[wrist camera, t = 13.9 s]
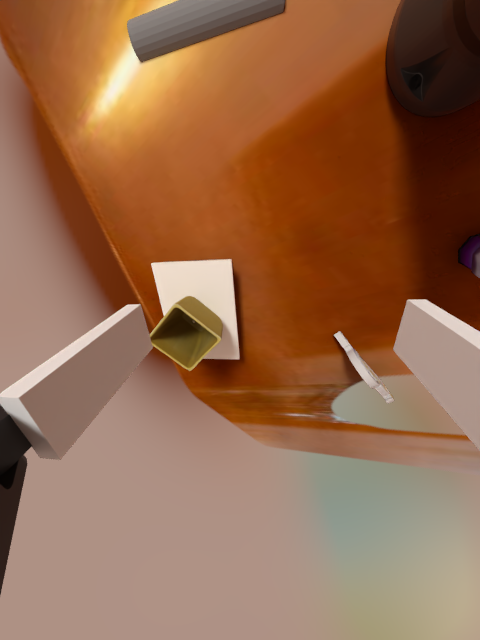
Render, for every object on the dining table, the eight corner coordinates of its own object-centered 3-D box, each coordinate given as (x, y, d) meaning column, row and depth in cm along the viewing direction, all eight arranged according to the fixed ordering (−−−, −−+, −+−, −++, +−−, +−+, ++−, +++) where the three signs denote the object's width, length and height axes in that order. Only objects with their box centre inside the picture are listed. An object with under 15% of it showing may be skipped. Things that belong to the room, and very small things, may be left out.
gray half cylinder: (285, 16, 27) (286, 5, 26) (141, 66, 31) (135, 59, 29) (282, -39, 26) (283, -54, 24) (130, 21, 29) (122, 11, 28)
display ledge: (234, 255, 40) (231, 260, 37) (241, 348, 49) (239, 359, 46) (161, 258, 42) (151, 263, 39) (180, 347, 51) (174, 358, 48)
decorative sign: (376, 372, 52) (402, 411, 44) (371, 375, 53) (396, 414, 44) (338, 328, 45) (361, 365, 36) (332, 332, 45) (353, 369, 37)
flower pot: (193, 283, 40) (174, 302, 32) (231, 314, 41) (222, 339, 33) (168, 315, 43) (144, 340, 35) (204, 342, 45) (189, 372, 37)
